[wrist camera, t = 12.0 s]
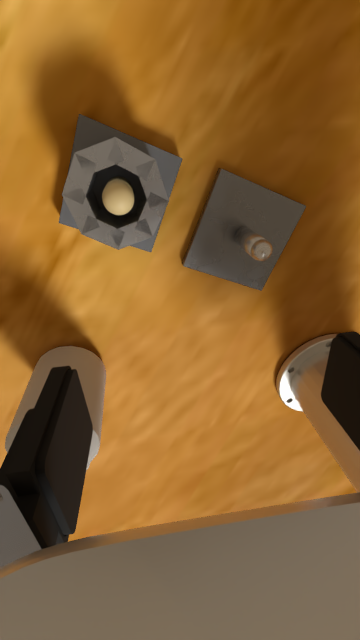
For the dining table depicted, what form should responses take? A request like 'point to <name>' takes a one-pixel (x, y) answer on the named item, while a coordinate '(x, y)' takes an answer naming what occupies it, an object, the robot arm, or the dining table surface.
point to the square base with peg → (120, 175)
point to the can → (91, 382)
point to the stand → (241, 231)
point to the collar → (100, 221)
